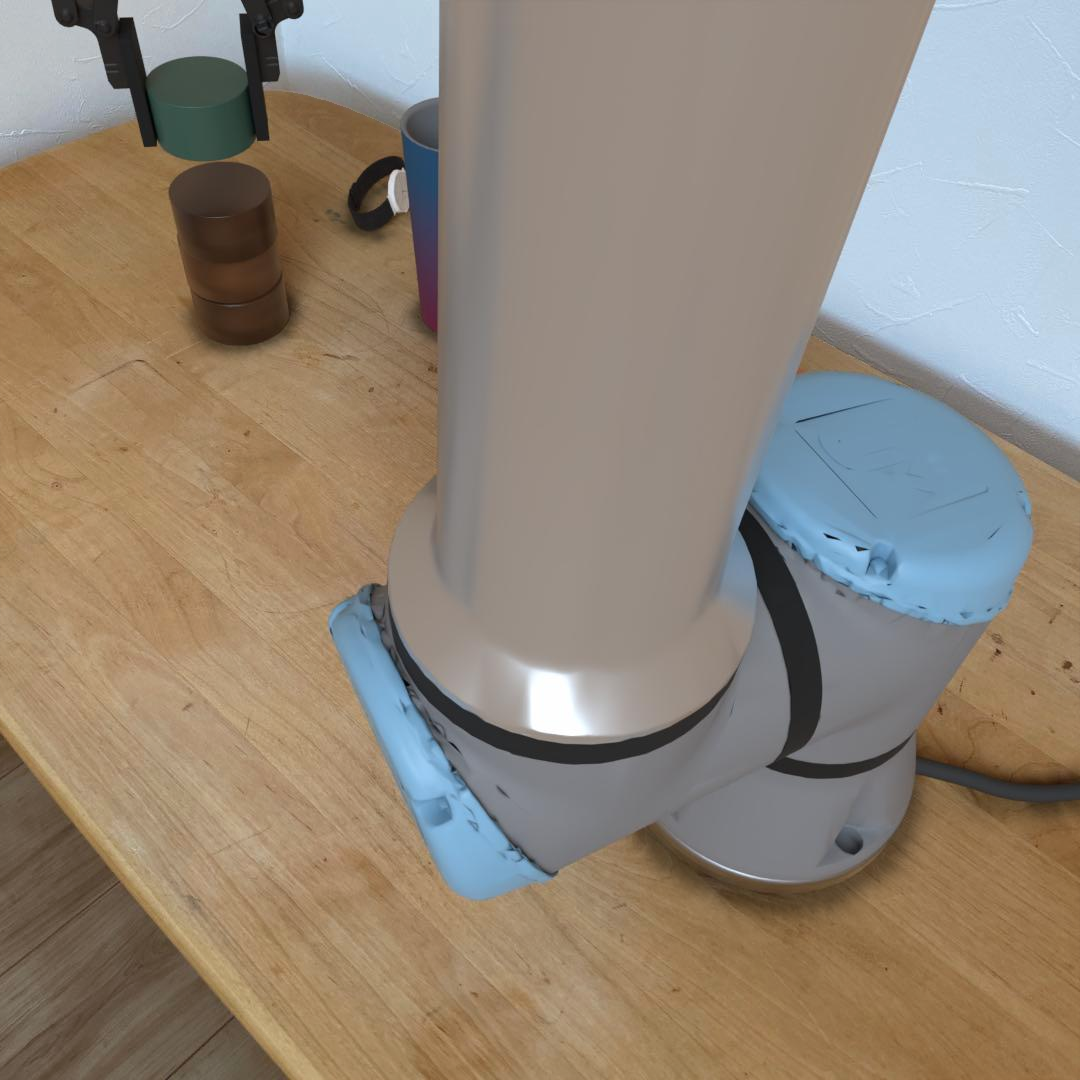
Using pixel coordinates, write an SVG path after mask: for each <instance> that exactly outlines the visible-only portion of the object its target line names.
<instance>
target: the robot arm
mask: <svg viewBox="0 0 1080 1080" xmlns="http://www.w3.org/2000/svg"><path fill="white" fill-rule="evenodd" d="M936 1H937V0H438V4H439V5H438V6H439V7H438V8H439V9H438V97H439V156H438V333H437V359H436V360H437V363H436V364H437V367H436V368H437V370H436V371H437V373H436V374H437V375H436V377H437V379H436V381H437V383H436V385H437V386H436V387H437V388H436V389H437V390H436V391H437V392H436V393H437V394H436V407H437V409H436V474H435V475H434V476H433V477H432V478H431V479H430V480H428V482H427V483H426V484H425V485H424V486H423V487H422V488H421V489H420V490H419V491H418V492H417V493H416V495H415V496H414V497H413V498H412V500H411V501H410V503H409V504H408V505H407V507H406V508H405V510H404V512H403V513H402V516H401V518H400V519H399V522H398V524H397V526H396V528H395V530H394V533H393V536H392V540H391V542H390V543H391V544H390V547H389V551H388V559H387V567H386V579H387V580H386V584H384V585H381V583H377V582H371V583H368V584H365V585H362V586H361V587H360V588H359V589H358V591H357V592H356V594H353V595H352V596H349V597H348V598H346V599H344V600H342V601H340V602H339V603H337V604H336V605H335V606H334V607H333V608H332V609H331V612H330V614H329V617H328V624H327V628H328V631H329V635H330V637H331V640H332V642H333V645H334V647H335V649H336V652H337V655H338V657H339V659H340V661H341V664H342V667H343V668H344V670H345V673H346V675H347V677H348V679H349V682H350V684H351V687H352V689H353V692H354V694H355V696H356V698H357V700H358V702H359V705H360V707H361V709H362V711H363V714H364V716H365V718H366V720H367V722H368V725H369V727H370V729H371V732H372V733H373V735H374V736H373V737H374V738H375V740H376V742H377V745H378V747H379V749H380V751H381V754H382V756H383V758H384V760H385V762H386V764H387V766H388V769H389V771H390V773H391V775H392V777H393V779H394V782H395V784H396V786H397V788H398V790H399V792H400V795H401V796H402V798H403V801H404V803H405V805H406V807H407V809H408V812H409V814H410V816H411V819H412V820H413V822H414V824H415V826H416V828H417V830H418V832H419V833H418V834H419V835H420V836H421V839H422V841H423V843H424V846H425V847H426V849H427V851H428V853H429V855H430V858H431V859H432V861H433V864H434V865H435V867H436V869H437V871H438V873H439V875H440V877H441V878H442V880H443V881H444V883H445V885H446V886H447V887H448V888H449V889H450V890H451V891H452V892H453V893H454V894H456V895H458V896H460V897H462V898H464V899H466V900H470V901H476V902H477V901H478V902H479V901H488V900H492V899H495V898H498V897H500V896H503V895H506V894H508V893H511V892H513V891H516V890H519V889H521V888H524V887H527V886H529V885H530V886H531V885H532V884H535V883H538V884H544V883H548V882H550V881H552V880H553V879H554V878H556V877H557V876H558V875H559V871H560V870H562V869H564V868H566V867H568V866H570V865H572V864H574V863H576V862H578V861H579V860H582V859H584V858H586V857H588V856H590V855H592V854H594V853H596V852H598V851H600V850H602V849H604V848H606V847H608V846H610V845H612V844H614V843H616V842H618V841H620V840H622V839H624V838H626V837H627V836H630V835H632V834H634V833H636V832H637V831H639V830H641V829H643V828H646V827H648V828H649V830H650V832H651V833H652V834H653V835H654V836H655V837H656V838H657V839H658V840H659V841H660V842H661V843H662V844H663V845H664V846H665V847H666V848H667V849H668V850H669V851H670V852H672V853H673V854H674V855H675V856H676V857H678V858H679V859H681V861H684V862H685V863H686V864H687V865H690V866H691V867H692V868H694V869H695V870H697V871H700V872H701V873H703V874H705V875H706V876H709V877H711V878H713V879H715V880H717V881H719V882H723V883H724V884H728V885H730V886H734V887H737V888H740V889H744V890H748V891H753V892H759V893H765V894H777V895H778V894H780V895H781V894H783V895H784V894H786V895H788V894H789V895H793V894H802V893H803V894H804V893H809V892H814V891H819V890H823V889H826V888H829V887H832V886H835V885H837V884H839V883H842V882H844V881H846V880H849V878H851V877H853V876H855V875H856V874H858V873H860V872H861V871H862V870H863V869H865V868H866V867H867V866H868V865H870V864H871V863H872V862H873V861H874V860H875V859H876V858H877V857H878V856H879V855H880V853H882V851H883V850H884V848H885V847H886V846H887V845H888V844H889V842H890V841H891V839H892V838H893V837H894V835H895V834H896V833H897V831H898V829H899V828H900V827H901V824H902V822H903V821H904V819H905V817H906V814H907V812H908V810H909V806H910V802H911V800H912V796H913V790H914V787H915V780H916V775H918V776H922V777H926V778H930V779H934V780H938V781H942V782H946V783H950V784H953V785H957V786H961V787H965V788H967V789H971V790H974V791H977V792H980V793H982V794H986V795H988V796H993V797H996V798H1000V799H1005V800H1009V801H1015V802H1025V803H1058V802H1070V801H1079V800H1080V781H1079V782H1078V781H1077V782H1070V783H1059V784H1029V783H1019V782H1013V781H1008V780H1003V779H999V778H996V777H992V776H989V775H987V774H983V773H982V772H981V773H980V772H978V771H974V770H972V769H968V768H964V767H961V766H957V765H953V764H949V763H945V762H941V761H937V760H934V759H930V758H926V757H923V756H918V755H917V730H918V728H919V727H920V726H921V724H922V723H923V721H925V720H924V719H926V717H927V716H928V714H929V712H930V711H931V709H932V708H933V706H934V705H935V703H936V702H937V701H938V699H939V698H940V696H941V695H942V694H943V692H944V691H945V689H946V687H947V686H948V685H949V683H950V682H951V680H952V679H953V677H954V676H955V675H956V673H957V672H958V670H959V669H960V668H961V666H962V664H963V663H964V662H965V660H966V659H967V657H968V656H969V654H970V653H971V652H972V650H973V648H975V646H976V644H977V643H978V641H979V640H980V638H981V637H982V635H983V634H984V633H985V631H986V630H987V628H988V627H989V625H990V624H991V622H992V621H993V619H994V618H995V617H996V616H997V615H998V614H1000V613H1001V612H1002V611H1004V610H1005V609H1006V608H1007V606H1008V603H1009V601H1010V600H1011V598H1012V595H1013V591H1015V582H1016V580H1017V578H1018V577H1019V575H1020V573H1021V572H1022V570H1023V567H1024V565H1025V564H1026V562H1027V560H1028V558H1029V555H1030V552H1031V551H1032V550H1031V549H1032V546H1033V541H1034V534H1035V530H1034V525H1033V523H1032V517H1031V516H1032V514H1033V509H1032V502H1031V498H1030V495H1029V493H1028V490H1027V488H1026V485H1025V483H1024V481H1023V479H1022V477H1021V475H1020V473H1019V471H1018V470H1017V469H1016V467H1015V465H1014V464H1013V462H1012V461H1011V460H1010V458H1009V457H1008V456H1007V455H1006V453H1005V452H1004V451H1003V450H1002V449H1001V447H1000V446H999V445H998V444H997V443H996V442H995V441H994V440H993V439H992V438H991V437H990V436H989V435H988V434H987V432H985V431H984V430H982V429H981V428H980V427H979V426H978V425H976V424H975V423H974V422H973V421H972V420H970V419H969V418H967V417H966V416H965V415H964V414H963V413H961V412H959V411H957V410H956V409H955V408H953V407H951V406H950V405H948V404H947V403H944V402H943V401H941V400H939V399H937V398H936V397H933V396H932V395H930V394H928V393H925V392H923V391H921V390H919V389H916V388H914V387H908V386H905V385H901V384H899V383H896V382H895V381H892V380H890V379H888V378H884V377H881V376H878V375H873V374H867V373H863V372H855V371H846V370H813V371H807V372H806V373H800V374H796V373H797V370H798V367H799V368H800V364H801V362H802V360H803V356H804V353H805V351H806V348H807V346H808V343H809V340H810V338H811V335H812V332H813V329H814V327H815V324H816V322H817V319H818V316H819V314H820V312H821V308H822V306H823V303H824V300H825V299H826V298H825V297H826V295H827V293H828V290H829V287H830V284H831V282H832V279H833V277H834V274H835V271H836V268H837V266H838V263H839V260H840V257H841V255H842V253H843V251H844V247H845V245H846V242H847V239H848V236H849V234H850V231H851V228H852V225H853V223H854V220H855V217H856V215H857V212H858V210H859V207H860V205H861V201H862V199H863V196H864V194H865V192H866V191H865V190H866V188H867V186H868V183H869V180H870V177H871V175H872V173H873V169H874V167H875V164H876V162H877V159H878V156H879V153H880V152H881V151H880V150H881V148H882V145H883V143H884V141H885V138H886V135H887V132H888V130H889V127H890V125H891V122H892V119H893V116H894V113H895V111H896V108H897V105H898V103H899V100H900V98H901V95H902V92H903V90H904V87H905V85H906V81H907V79H908V76H909V74H910V71H911V68H912V66H913V63H914V61H915V58H916V55H917V52H918V49H919V47H920V44H921V41H922V38H923V36H924V33H925V30H926V28H927V26H928V23H929V20H930V17H931V15H932V12H933V10H934V7H935V4H936ZM50 2H51V7H52V12H53V15H54V18H55V20H56V22H57V23H58V24H59V25H60V26H63V27H64V28H73V27H75V26H76V27H79V28H83V29H85V30H88V31H90V32H91V33H92V34H93V35H94V36H95V38H96V41H97V44H98V46H99V51H100V56H101V60H102V63H103V66H104V70H105V75H106V78H107V81H108V83H109V84H110V86H111V87H112V88H113V90H123V89H124V90H125V89H127V90H128V89H129V93H130V97H131V101H132V104H133V108H134V113H135V117H136V121H137V124H138V128H139V134H140V138H141V141H142V145H143V148H156V147H158V140H157V136H156V132H155V127H154V123H153V119H152V114H151V110H150V106H149V102H148V97H147V93H146V89H145V80H146V77H147V76H148V74H147V72H146V67H145V62H144V57H143V54H142V50H141V45H140V41H139V37H138V33H137V28H136V24H135V19H134V17H133V16H123V17H119V14H118V10H119V9H118V8H119V0H50ZM240 2H241V4H242V6H243V8H244V10H245V12H243V13H238V17H239V18H238V19H239V33H240V40H241V46H242V54H243V60H244V68H245V71H246V73H247V80H248V86H249V92H250V99H251V105H252V111H253V118H254V124H255V130H256V142H268V141H270V140H271V139H270V129H269V118H268V111H267V104H266V97H265V91H264V83H275V82H276V83H277V82H279V78H280V75H281V67H280V59H279V52H278V44H277V37H276V28H277V27H278V25H279V24H280V23H281V22H283V21H286V20H288V19H290V20H298V19H300V18H301V17H302V16H303V14H304V13H305V7H304V6H305V5H304V1H303V0H240Z"/></svg>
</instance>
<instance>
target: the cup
mask: <svg viewBox="0 0 1080 1080" xmlns="http://www.w3.org/2000/svg"><path fill="white" fill-rule="evenodd" d="M399 126H400V135H401V143H402V144H401V145H402V152H403V160H404V163H405V172H406V181H407V190H408V199H409V208H408V209H409V216H410V225H411V233H412V242H413V251H414V253H413V254H414V261H415V269H416V277H417V278H416V279H417V287H418V296H419V297H418V298H419V306H420V314H421V319H422V322H423V323H424V325H425V326H426V327H427V328H429V329H430V330H432V331H433V332H435V333H437V334H438V156H439V96H437V97H432V98H427V99H424V100H421V101H419V102H417V103H415V104H413V105H412V106H410V107H409V108H407V110H406V111H405V112H404V113H402V116H401V118H400V123H399Z"/></svg>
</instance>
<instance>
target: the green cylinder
mask: <svg viewBox="0 0 1080 1080" xmlns="http://www.w3.org/2000/svg"><path fill="white" fill-rule="evenodd" d="M145 89H146V93H147V97H148V102H149V106H150V110H151V114H152V119H153V123H154V127H155V132H156V136H157V144H158V146H159V147H160V148H161V149H162V150H163V151H164V152H166V153H167V154H169V155H171V156H172V157H176V158H178V159H181V160H185V161H191V162H203V163H204V162H218V161H223V160H226V159H230V158H233V157H236V156H238V155H241V154H242V153H244V152H245V151H247V150H248V149H249V148H250V147H252V146H253V144H254V143H255V141H257V137H256V130H255V124H254V118H253V111H252V105H251V99H250V92H249V86H248V80H247V73H246V69H244V68H243V67H242V66H241V65H239V64H238V63H236V62H235V61H231V60H229V59H225V58H222V57H216V56H210V55H209V56H208V55H206V56H205V55H194V56H185V57H179V58H175V59H171V60H168V61H166V62H163V63H161V64H158V65H157V66H155V67H154V68H153V69H152V70H150V71H149V73H148V74H147V77H146V80H145Z"/></svg>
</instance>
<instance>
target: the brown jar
mask: <svg viewBox="0 0 1080 1080" xmlns="http://www.w3.org/2000/svg"><path fill="white" fill-rule="evenodd" d="M273 198H274V197H273V193H272V185H271V182H270V179H269V178H268V176H267V175H266V174H265V173H264V172H263V171H261V170H260V169H258V168H256V167H254V166H252V165H250V164H246V163H243V162H239V161H238V162H236V161H225V160H224V161H223V160H222V161H210V162H206V163H201V164H198V165H194V166H191V167H190V168H188V169H185V170H183V171H182V172H180V173H179V174H178V175H176V176H175V177H174V179H173V180H172V181H171V182H170V185H169V187H168V199H169V203H170V207H171V211H172V216H173V220H174V224H175V229H176V240H177V244H178V249H179V253H180V259H181V261H182V267H183V269H184V274H185V279H186V282H187V286H188V287H189V291H190V295H191V298H192V299H191V300H192V303H193V307H194V311H195V315H196V320H197V325H198V327H199V329H200V331H201V332H202V333H203V334H204V336H206V337H207V338H209V339H211V340H212V341H214V342H217V343H220V344H223V345H229V346H250V345H256V344H259V343H262V342H265V341H267V340H269V339H272V338H273V337H275V336H277V335H278V334H279V333H280V332H282V331H283V329H284V328H285V327H286V325H287V323H288V321H289V318H290V310H289V309H290V308H289V303H288V297H287V291H286V284H285V278H284V271H283V268H282V266H281V260H280V253H279V248H278V240H277V239H278V224H277V218H276V212H275V204H274V199H273Z"/></svg>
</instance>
